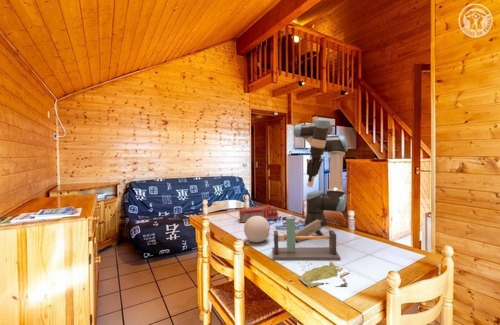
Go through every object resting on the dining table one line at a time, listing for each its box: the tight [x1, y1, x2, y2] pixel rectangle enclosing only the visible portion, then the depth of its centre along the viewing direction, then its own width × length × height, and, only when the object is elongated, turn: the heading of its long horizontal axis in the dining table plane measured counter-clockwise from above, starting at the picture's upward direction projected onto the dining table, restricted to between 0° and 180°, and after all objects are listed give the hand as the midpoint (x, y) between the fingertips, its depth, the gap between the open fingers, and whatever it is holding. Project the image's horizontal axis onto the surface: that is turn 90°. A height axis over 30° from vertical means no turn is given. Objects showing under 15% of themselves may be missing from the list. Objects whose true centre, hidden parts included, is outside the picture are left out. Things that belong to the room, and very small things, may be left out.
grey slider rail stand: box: [271, 229, 341, 261], centre depth 122 cm, size 32×12×12 cm, turn 85°
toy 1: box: [238, 205, 279, 223], centre depth 189 cm, size 10×30×10 cm, turn 102°
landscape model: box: [298, 261, 351, 289], centre depth 99 cm, size 24×15×2 cm, turn 123°
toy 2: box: [243, 216, 271, 243], centre depth 143 cm, size 15×15×15 cm
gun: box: [295, 219, 325, 243], centre depth 146 cm, size 2×25×10 cm, turn 121°
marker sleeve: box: [285, 216, 296, 250], centre depth 123 cm, size 4×3×16 cm
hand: (309, 186), depth 141 cm, fingers closed
